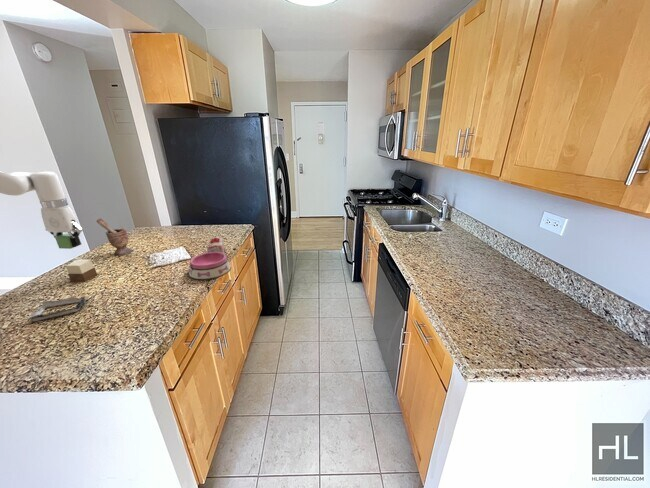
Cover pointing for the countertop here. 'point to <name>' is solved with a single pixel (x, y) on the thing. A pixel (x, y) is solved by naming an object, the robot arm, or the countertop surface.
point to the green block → (64, 241)
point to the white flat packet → (169, 256)
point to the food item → (216, 245)
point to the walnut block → (83, 276)
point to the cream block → (79, 266)
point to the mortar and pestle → (116, 238)
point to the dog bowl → (209, 266)
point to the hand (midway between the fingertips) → (70, 245)
